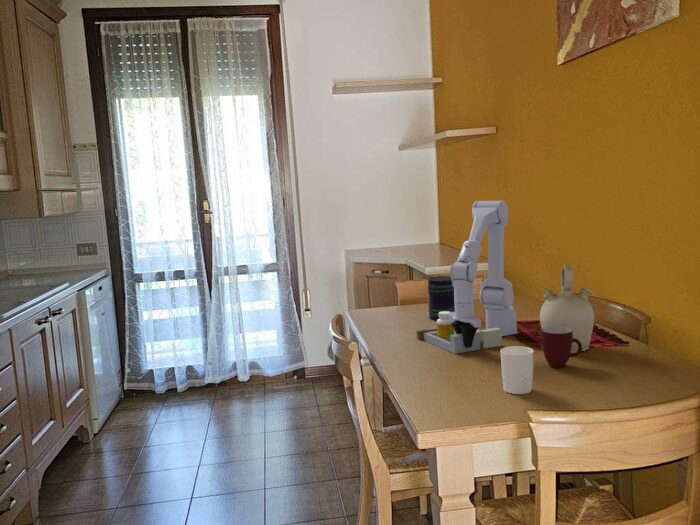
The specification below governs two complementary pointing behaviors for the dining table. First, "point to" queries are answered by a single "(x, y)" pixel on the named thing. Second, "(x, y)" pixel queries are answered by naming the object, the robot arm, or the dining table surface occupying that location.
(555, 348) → the mug
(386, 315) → the dining table surface
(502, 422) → the dining table surface
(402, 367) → the dining table surface
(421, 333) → the walnut guide
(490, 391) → the dining table surface
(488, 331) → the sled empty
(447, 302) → the storage jar
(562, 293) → the jug
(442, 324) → the supplement bottle
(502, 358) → the white cup
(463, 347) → the gray rectangular open frame
